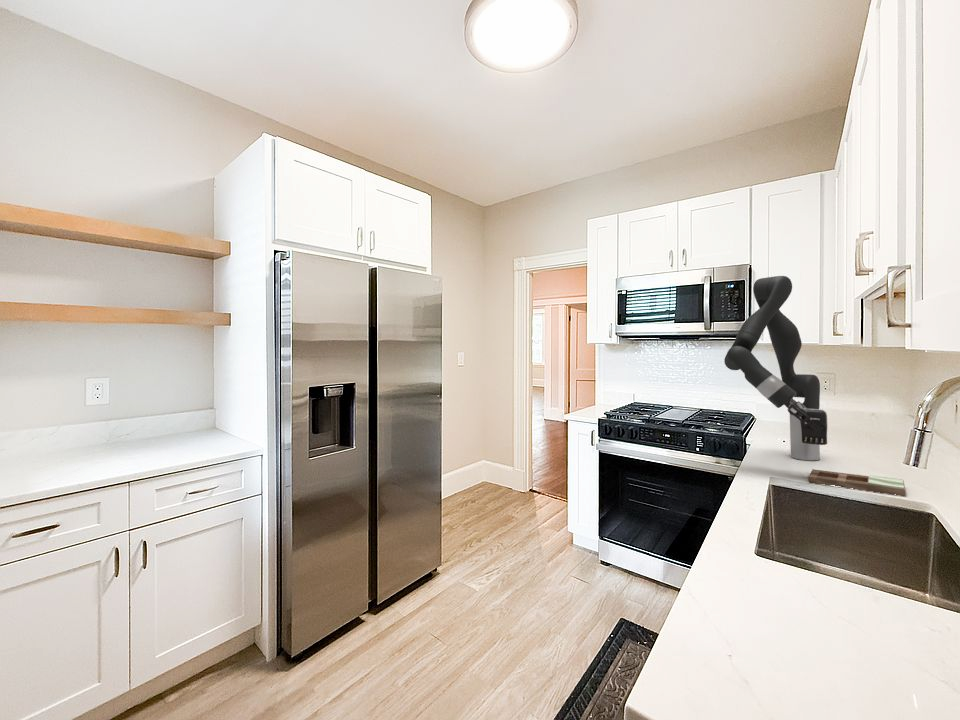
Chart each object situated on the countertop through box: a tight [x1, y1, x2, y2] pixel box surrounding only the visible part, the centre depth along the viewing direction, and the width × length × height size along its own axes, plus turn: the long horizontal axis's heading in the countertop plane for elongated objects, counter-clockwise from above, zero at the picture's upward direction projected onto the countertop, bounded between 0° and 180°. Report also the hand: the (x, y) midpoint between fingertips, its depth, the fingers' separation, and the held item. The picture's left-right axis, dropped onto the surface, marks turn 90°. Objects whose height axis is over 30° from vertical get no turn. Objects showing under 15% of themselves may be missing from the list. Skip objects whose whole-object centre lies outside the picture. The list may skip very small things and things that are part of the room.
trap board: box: [807, 468, 906, 497], centre depth 133 cm, size 12×22×2 cm, turn 47°
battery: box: [800, 408, 828, 446], centre depth 140 cm, size 7×4×11 cm, turn 46°
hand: (821, 429), depth 139 cm, fingers closed on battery, 3 cm apart
